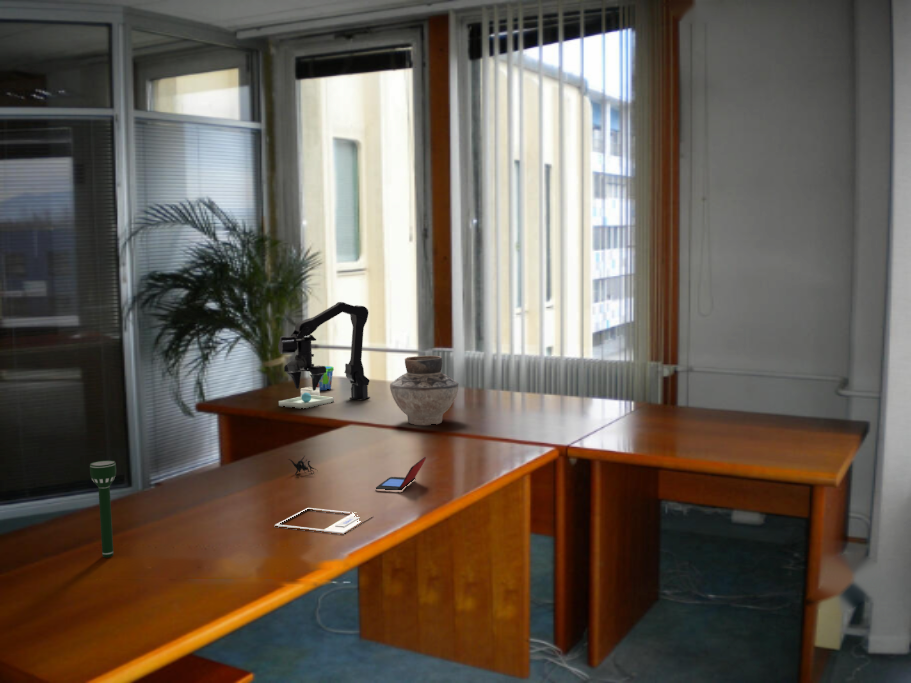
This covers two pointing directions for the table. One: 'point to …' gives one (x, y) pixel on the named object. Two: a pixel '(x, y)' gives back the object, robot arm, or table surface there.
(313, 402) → the tray
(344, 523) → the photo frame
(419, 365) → the ceramic pot
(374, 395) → the table surface
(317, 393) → the cup
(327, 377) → the snack cup
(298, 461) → the creature
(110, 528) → the flashlight
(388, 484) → the handheld game console
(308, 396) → the ball
